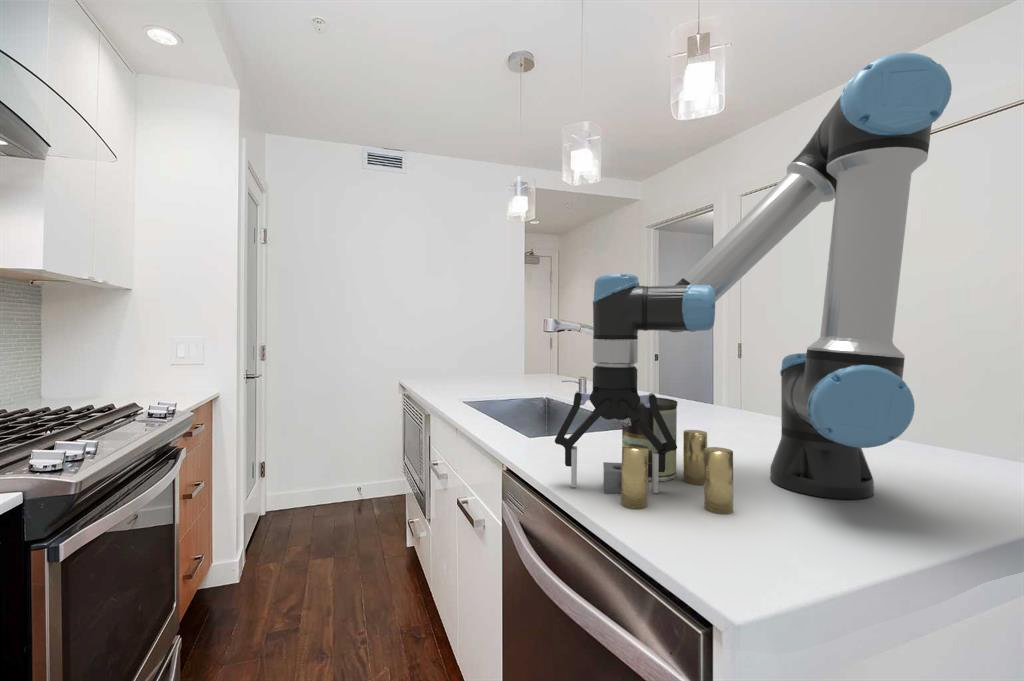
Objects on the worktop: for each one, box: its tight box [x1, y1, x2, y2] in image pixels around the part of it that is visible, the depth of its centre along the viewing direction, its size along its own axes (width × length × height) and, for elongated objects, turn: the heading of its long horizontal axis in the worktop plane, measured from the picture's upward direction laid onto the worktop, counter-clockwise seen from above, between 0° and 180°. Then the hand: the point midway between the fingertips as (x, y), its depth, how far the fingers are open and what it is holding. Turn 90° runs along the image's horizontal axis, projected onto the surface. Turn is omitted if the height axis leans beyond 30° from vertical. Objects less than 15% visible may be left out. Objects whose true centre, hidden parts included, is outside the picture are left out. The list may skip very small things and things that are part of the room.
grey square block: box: [602, 461, 622, 496], centre depth 80 cm, size 6×6×4 cm
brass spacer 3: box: [703, 446, 734, 515], centre depth 71 cm, size 4×4×9 cm
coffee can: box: [621, 396, 679, 482], centre depth 89 cm, size 10×10×14 cm
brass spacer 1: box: [620, 444, 649, 510], centre depth 72 cm, size 4×4×9 cm
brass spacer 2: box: [682, 429, 708, 486], centre depth 84 cm, size 4×4×9 cm
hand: (613, 488), depth 80 cm, fingers open, 13 cm apart
